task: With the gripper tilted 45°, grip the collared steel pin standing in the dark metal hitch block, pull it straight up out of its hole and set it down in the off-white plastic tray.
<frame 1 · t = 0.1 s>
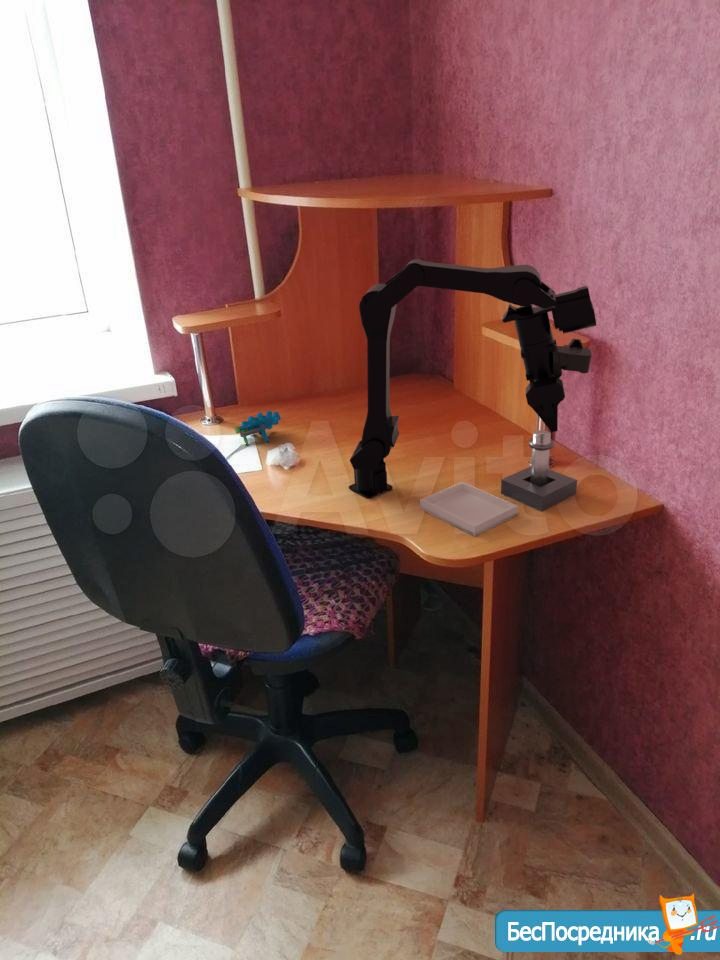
hand: (553, 421, 136), 15 cm above the table, tool pointing down, fingers open, 9 cm apart
hitch block: (538, 493, 144), on the table
tray: (468, 512, 139), on the table
steel pin: (540, 464, 142), in the hitch block
blue spiky toy: (259, 439, 177), on the table
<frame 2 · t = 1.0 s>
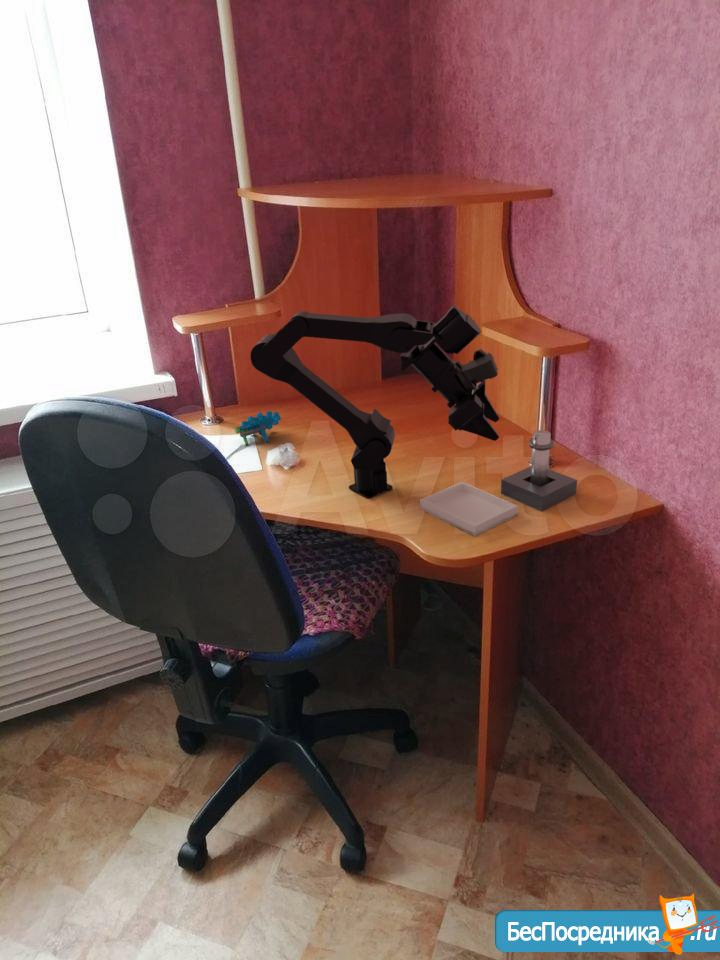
hand: (497, 429, 140), 13 cm above the table, tool tilted 45°, fingers open, 9 cm apart
nothing on the table moved.
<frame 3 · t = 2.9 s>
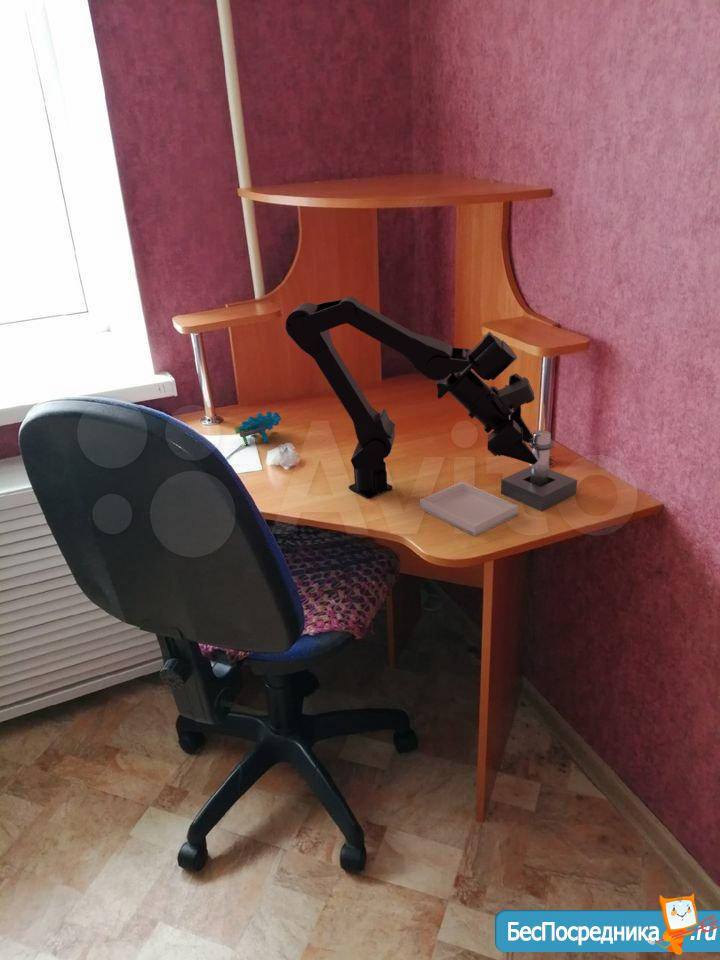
hand: (535, 452, 141), 9 cm above the table, tool tilted 45°, fingers open, 9 cm apart
nothing on the table moved.
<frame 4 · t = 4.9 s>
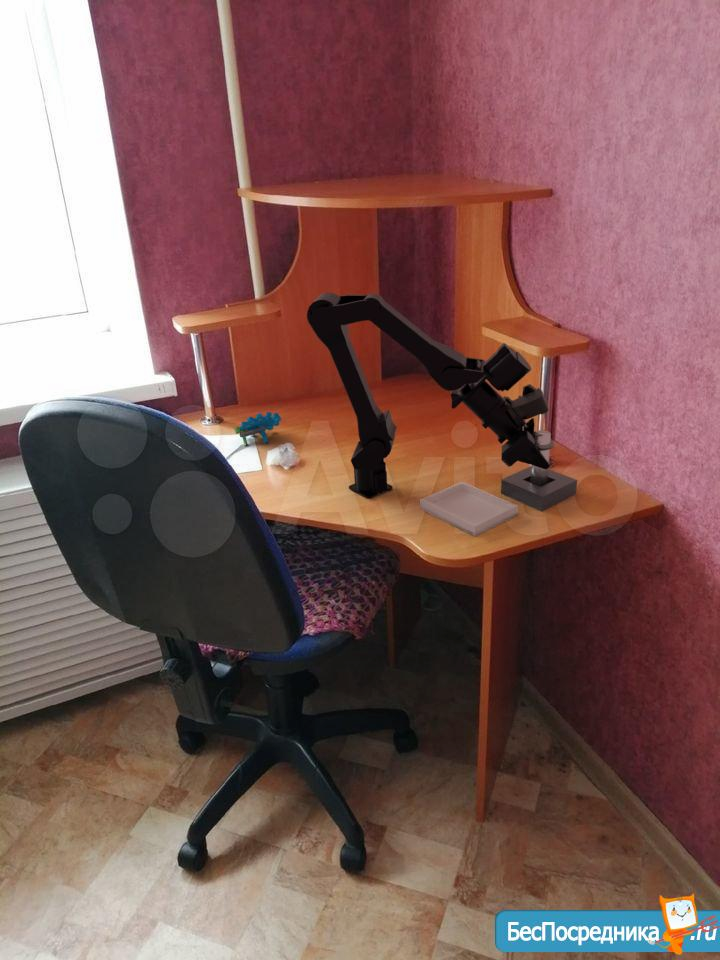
hand: (547, 462, 141), 7 cm above the table, tool tilted 45°, fingers closed on steel pin, 4 cm apart
steel pin: (540, 464, 142), in the hitch block, touching gripper
everything else where it was.
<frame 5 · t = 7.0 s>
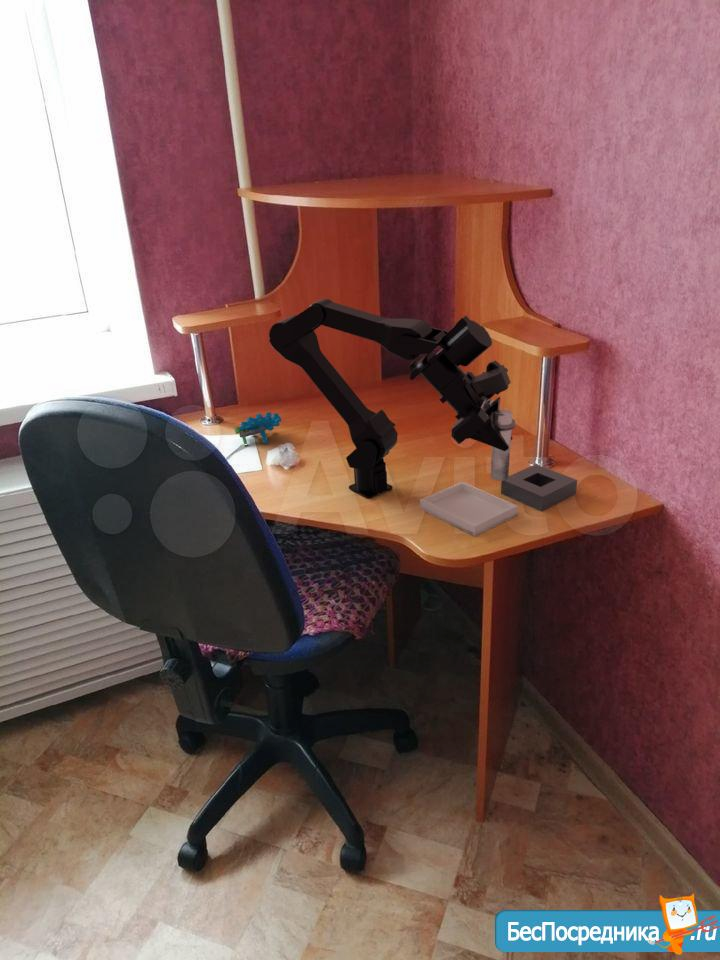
hand: (508, 444, 134), 13 cm above the table, tool tilted 45°, fingers closed on steel pin, 4 cm apart
steel pin: (501, 445, 135), point 12 cm above the table, touching gripper
everything else where it was.
when the fingers open (8 cm above the table, at t = 9.3 s): steel pin stays where it is, resting on tray.
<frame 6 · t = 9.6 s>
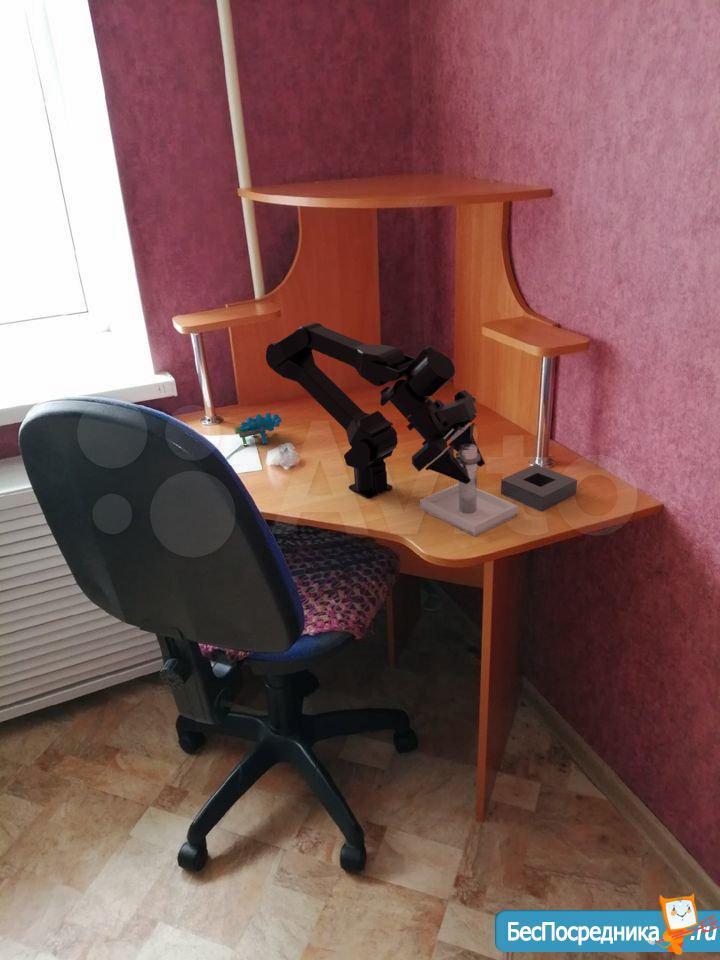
hand: (476, 473, 135), 8 cm above the table, tool tilted 45°, fingers open, 7 cm apart
steel pin: (467, 479, 136), in the tray, point 7 cm above the table
everything else where it was.
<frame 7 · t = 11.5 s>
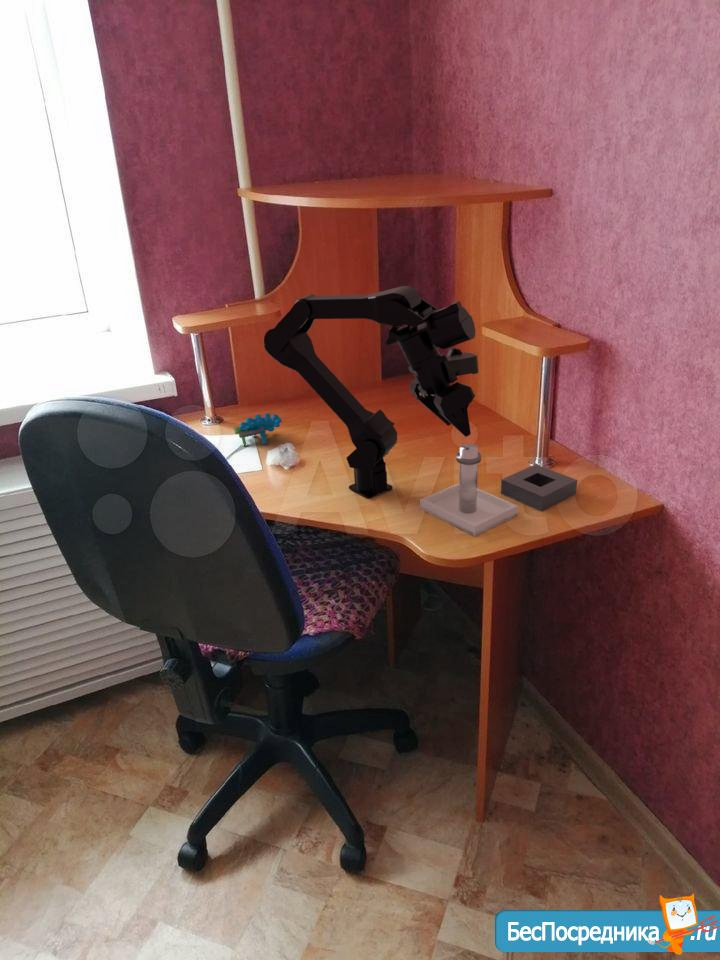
hand: (458, 429, 139), 14 cm above the table, tool tilted 25°, fingers open, 9 cm apart
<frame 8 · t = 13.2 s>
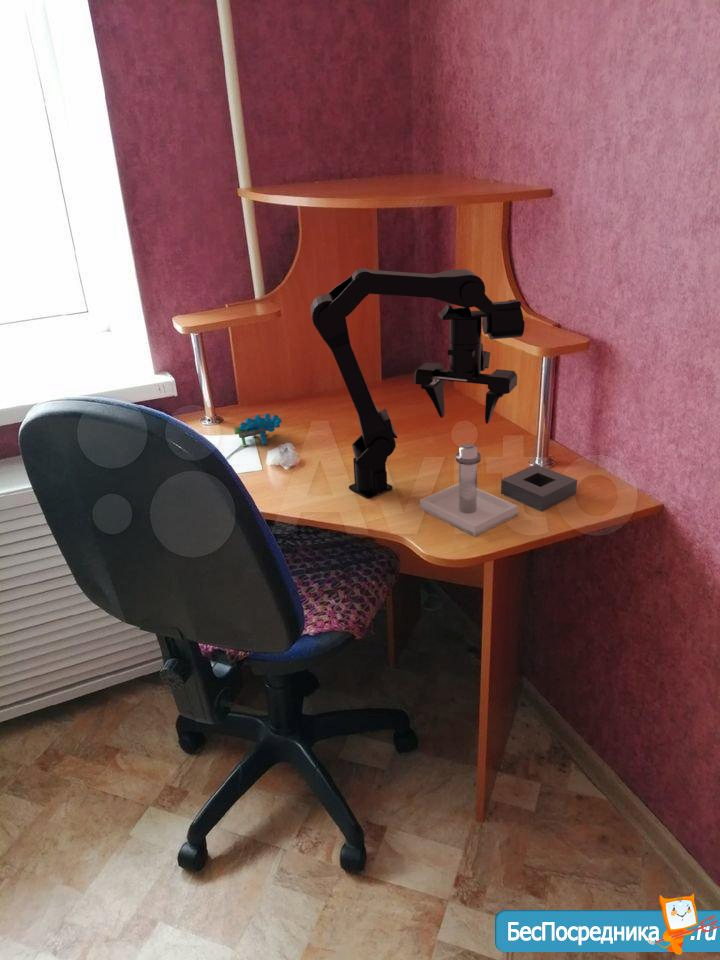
hand: (464, 420, 145), 13 cm above the table, tool pointing down, fingers open, 9 cm apart
at the end: steel pin inside the target area on the tray (0.1 cm from its centre), point 6.9 cm above the tray's base; the gripper is holding nothing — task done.
